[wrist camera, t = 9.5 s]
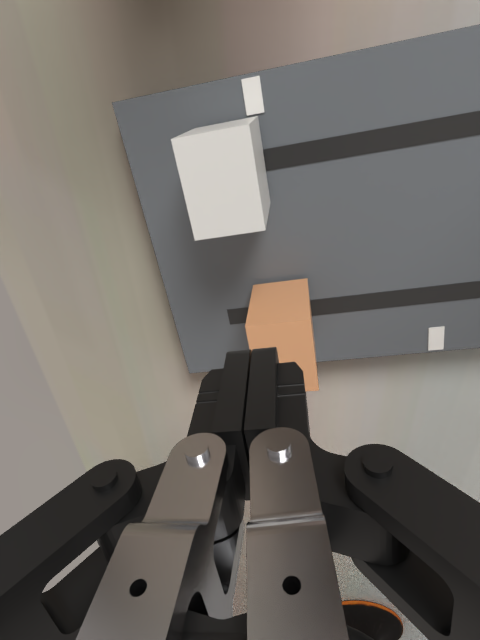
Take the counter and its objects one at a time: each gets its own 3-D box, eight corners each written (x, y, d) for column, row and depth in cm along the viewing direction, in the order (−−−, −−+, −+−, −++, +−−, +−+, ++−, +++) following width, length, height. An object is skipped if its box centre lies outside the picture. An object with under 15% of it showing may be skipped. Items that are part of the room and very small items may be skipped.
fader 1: (257, 116, 23) (248, 124, 19) (270, 202, 26) (265, 230, 21) (195, 128, 24) (170, 139, 19) (212, 211, 26) (194, 240, 21)
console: (643, -9, 22) (684, -20, 19) (574, 319, 30) (597, 338, 28) (126, 100, 26) (111, 102, 24) (195, 355, 35) (189, 374, 33)
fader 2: (307, 278, 28) (310, 319, 23) (314, 340, 30) (318, 390, 25) (253, 284, 28) (245, 326, 24) (264, 345, 31) (258, 394, 26)
